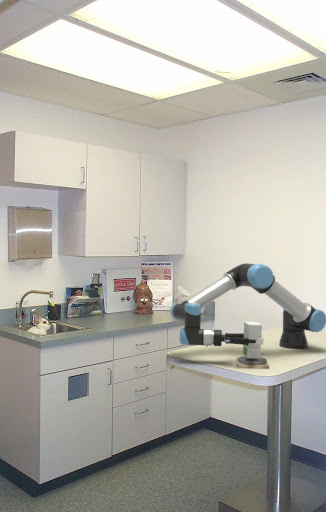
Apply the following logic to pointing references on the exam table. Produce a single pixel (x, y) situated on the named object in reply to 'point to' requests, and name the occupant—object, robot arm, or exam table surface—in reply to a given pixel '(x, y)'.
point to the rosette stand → (252, 362)
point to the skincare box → (252, 332)
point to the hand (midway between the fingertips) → (262, 339)
